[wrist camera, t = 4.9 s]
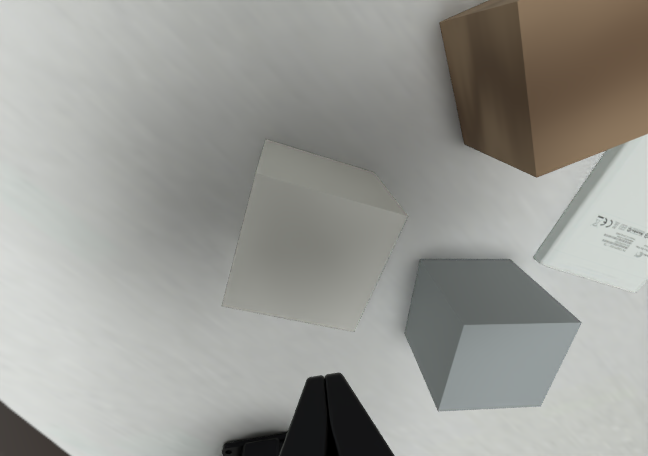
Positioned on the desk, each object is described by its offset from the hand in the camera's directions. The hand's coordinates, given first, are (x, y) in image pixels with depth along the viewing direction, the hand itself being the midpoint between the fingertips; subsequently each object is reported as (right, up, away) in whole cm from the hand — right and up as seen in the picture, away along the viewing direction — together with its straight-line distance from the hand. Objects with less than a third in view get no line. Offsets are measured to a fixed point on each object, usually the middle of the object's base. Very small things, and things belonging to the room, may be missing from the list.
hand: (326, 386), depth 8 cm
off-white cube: (-1, +5, +11) cm, 12 cm away
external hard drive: (+19, +7, +13) cm, 24 cm away
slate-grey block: (+9, -1, +15) cm, 17 cm away
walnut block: (+9, +12, +8) cm, 17 cm away
